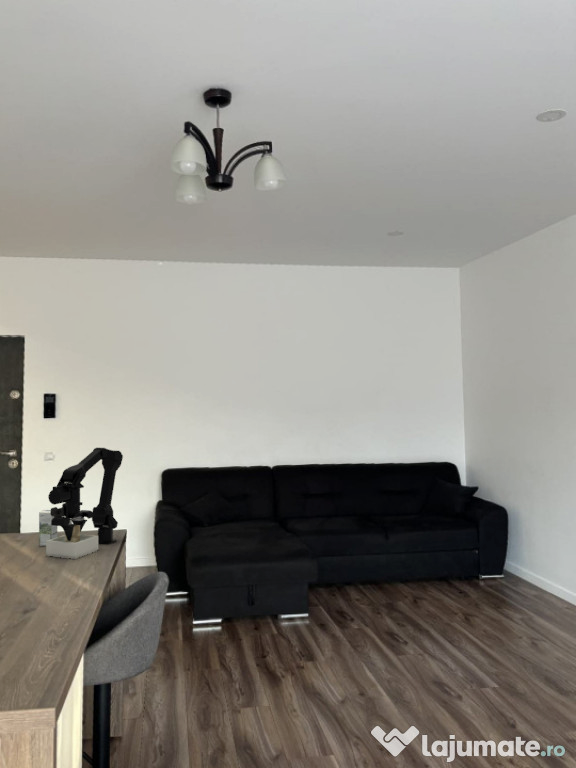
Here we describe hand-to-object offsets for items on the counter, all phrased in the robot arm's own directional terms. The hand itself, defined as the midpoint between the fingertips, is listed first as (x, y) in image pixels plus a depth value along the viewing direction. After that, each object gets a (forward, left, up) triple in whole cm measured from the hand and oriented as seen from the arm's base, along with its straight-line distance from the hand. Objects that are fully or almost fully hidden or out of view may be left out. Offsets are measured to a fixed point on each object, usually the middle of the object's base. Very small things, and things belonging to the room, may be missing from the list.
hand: (72, 539), depth 252 cm
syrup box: (-8, -19, -6) cm, 21 cm away
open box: (0, 0, -6) cm, 6 cm away
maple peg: (0, 0, -2) cm, 2 cm away
